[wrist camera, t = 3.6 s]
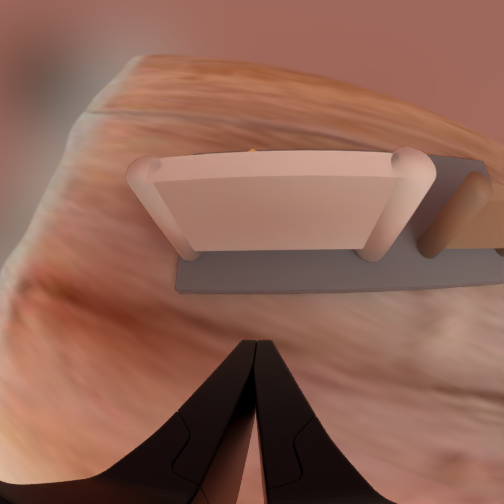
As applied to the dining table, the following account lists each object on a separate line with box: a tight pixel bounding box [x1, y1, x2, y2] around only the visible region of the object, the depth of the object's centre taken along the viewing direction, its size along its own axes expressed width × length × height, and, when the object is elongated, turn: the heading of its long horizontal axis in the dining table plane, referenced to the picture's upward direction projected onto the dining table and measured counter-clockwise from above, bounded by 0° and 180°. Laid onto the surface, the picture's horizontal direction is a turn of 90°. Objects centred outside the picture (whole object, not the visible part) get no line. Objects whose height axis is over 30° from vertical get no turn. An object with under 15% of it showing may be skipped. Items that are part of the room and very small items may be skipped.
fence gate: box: [125, 147, 436, 262], centre depth 15 cm, size 12×2×8 cm, turn 89°
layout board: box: [175, 148, 504, 294], centre depth 17 cm, size 23×10×8 cm, turn 89°
